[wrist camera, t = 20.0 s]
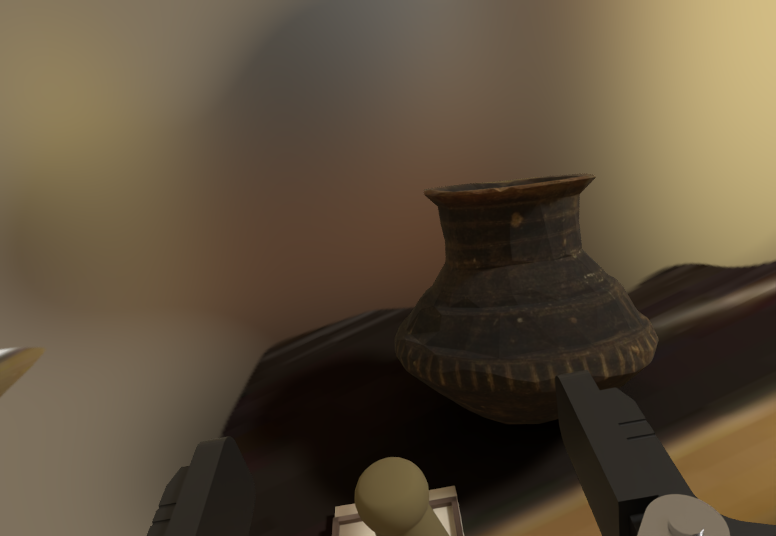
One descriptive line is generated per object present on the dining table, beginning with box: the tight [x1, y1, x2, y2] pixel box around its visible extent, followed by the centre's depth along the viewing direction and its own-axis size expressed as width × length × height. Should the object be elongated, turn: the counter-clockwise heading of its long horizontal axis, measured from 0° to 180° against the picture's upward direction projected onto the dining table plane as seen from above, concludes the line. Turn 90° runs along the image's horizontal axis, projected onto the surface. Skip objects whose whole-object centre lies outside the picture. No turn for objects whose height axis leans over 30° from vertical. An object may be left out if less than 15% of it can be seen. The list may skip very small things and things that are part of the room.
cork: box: [355, 457, 449, 536], centre depth 40 cm, size 6×6×11 cm
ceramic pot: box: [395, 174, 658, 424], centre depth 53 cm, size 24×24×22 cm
